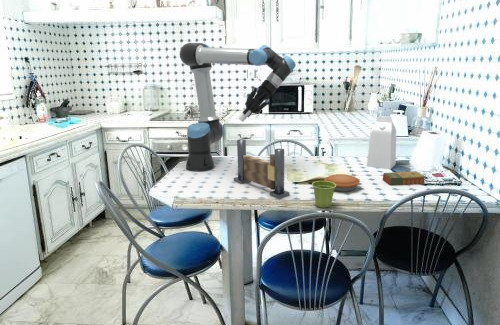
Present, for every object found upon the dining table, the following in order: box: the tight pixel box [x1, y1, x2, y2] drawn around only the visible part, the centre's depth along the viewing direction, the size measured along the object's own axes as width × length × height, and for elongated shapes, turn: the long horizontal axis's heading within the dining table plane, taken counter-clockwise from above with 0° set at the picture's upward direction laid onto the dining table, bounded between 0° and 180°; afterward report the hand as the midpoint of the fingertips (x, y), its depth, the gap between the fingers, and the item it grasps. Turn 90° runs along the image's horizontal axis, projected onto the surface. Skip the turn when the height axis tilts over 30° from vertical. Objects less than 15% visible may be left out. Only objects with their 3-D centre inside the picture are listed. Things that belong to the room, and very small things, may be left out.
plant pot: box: [311, 180, 336, 209], centre depth 161 cm, size 9×9×9 cm
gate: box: [243, 153, 275, 191], centre depth 181 cm, size 21×3×15 cm, turn 38°
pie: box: [323, 173, 361, 193], centre depth 182 cm, size 15×16×5 cm
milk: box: [366, 115, 397, 170], centre depth 213 cm, size 12×12×26 cm
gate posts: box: [233, 138, 290, 200], centre depth 181 cm, size 32×6×20 cm, turn 38°
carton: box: [382, 170, 425, 186], centre depth 188 cm, size 8×16×4 cm, turn 95°
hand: (240, 120), depth 203 cm, fingers closed
